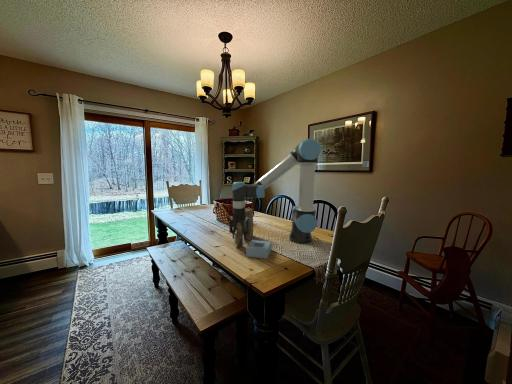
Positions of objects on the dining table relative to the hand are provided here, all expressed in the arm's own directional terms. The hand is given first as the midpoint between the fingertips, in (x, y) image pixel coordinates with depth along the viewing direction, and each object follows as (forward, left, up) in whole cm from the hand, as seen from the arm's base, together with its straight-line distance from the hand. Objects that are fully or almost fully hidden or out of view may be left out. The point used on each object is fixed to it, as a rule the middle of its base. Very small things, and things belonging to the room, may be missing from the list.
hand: (239, 244), depth 127 cm
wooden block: (+2, -17, -2) cm, 17 cm away
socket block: (-14, +6, -2) cm, 15 cm away
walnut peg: (0, 0, -2) cm, 2 cm away
